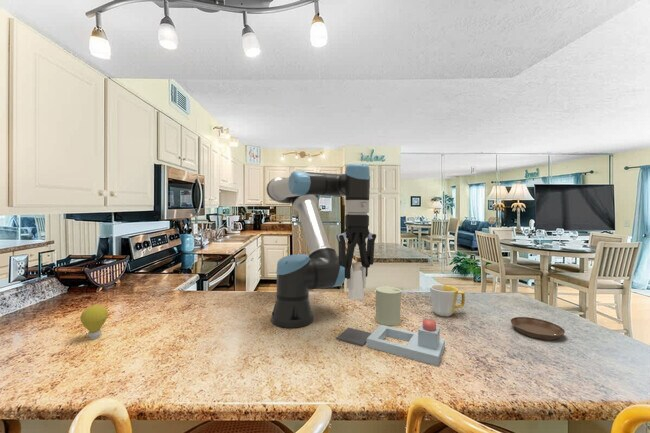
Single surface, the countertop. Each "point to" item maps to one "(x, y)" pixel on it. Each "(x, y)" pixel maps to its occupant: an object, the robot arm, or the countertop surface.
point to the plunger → (429, 325)
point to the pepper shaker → (356, 283)
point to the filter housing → (409, 343)
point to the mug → (445, 299)
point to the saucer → (537, 328)
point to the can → (388, 305)
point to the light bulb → (94, 320)
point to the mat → (354, 336)
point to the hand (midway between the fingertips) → (356, 287)
